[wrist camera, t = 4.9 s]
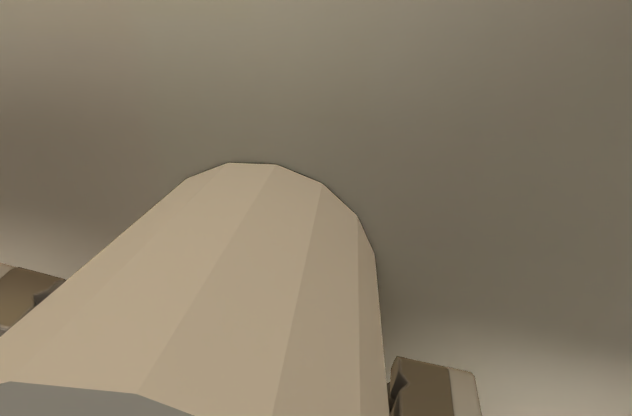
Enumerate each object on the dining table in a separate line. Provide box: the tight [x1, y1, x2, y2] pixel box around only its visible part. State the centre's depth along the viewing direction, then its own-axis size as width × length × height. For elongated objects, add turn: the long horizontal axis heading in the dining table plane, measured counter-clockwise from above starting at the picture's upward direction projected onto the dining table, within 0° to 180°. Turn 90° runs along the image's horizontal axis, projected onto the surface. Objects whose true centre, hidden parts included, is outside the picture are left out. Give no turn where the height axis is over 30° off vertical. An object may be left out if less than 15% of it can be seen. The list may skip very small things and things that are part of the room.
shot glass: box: [0, 163, 389, 416], centre depth 10 cm, size 7×7×7 cm
